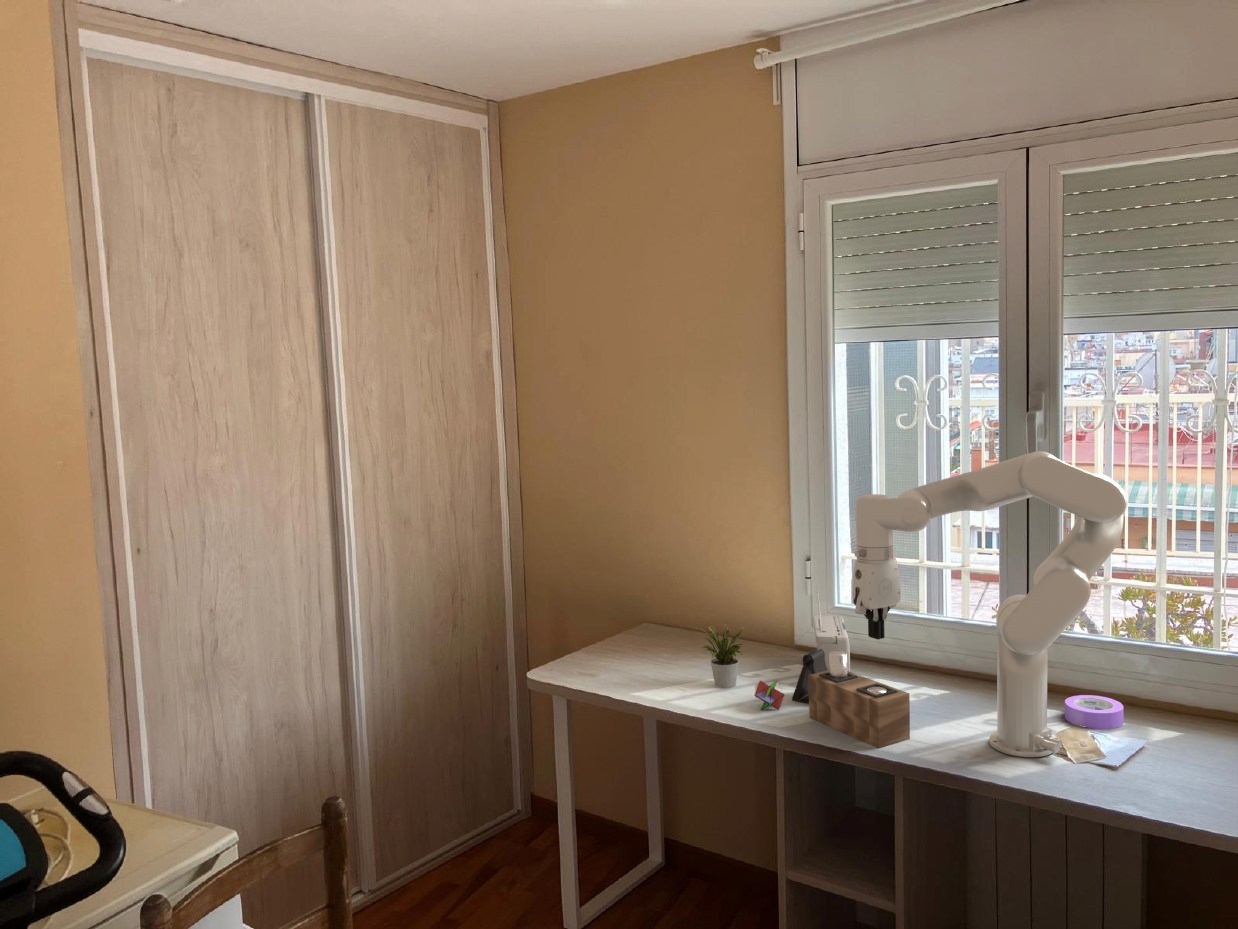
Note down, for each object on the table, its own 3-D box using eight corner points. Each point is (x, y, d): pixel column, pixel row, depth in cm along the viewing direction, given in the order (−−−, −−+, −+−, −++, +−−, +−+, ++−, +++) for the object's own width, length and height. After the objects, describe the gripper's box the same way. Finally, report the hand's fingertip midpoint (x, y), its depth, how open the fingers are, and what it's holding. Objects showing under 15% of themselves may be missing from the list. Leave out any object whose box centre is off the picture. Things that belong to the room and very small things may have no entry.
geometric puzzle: (796, 698, 232) (776, 669, 235) (783, 707, 227) (764, 677, 229) (774, 712, 236) (755, 683, 238) (761, 721, 230) (742, 691, 233)
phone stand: (791, 700, 237) (790, 652, 236) (803, 693, 242) (802, 645, 241) (826, 707, 232) (825, 657, 231) (837, 700, 237) (836, 651, 235)
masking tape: (1054, 720, 219) (1055, 703, 218) (1079, 707, 226) (1079, 690, 226) (1108, 734, 210) (1109, 717, 209) (1132, 720, 217) (1132, 703, 217)
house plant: (687, 693, 245) (685, 629, 243) (696, 675, 259) (694, 614, 257) (745, 696, 242) (743, 630, 240) (751, 678, 255) (749, 616, 253)
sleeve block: (909, 738, 211) (909, 691, 210) (878, 748, 207) (878, 700, 206) (839, 709, 230) (838, 665, 229) (809, 717, 226) (808, 673, 225)
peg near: (890, 731, 212) (890, 690, 211) (877, 735, 210) (876, 694, 210) (877, 725, 216) (877, 685, 215) (863, 729, 214) (863, 689, 213)
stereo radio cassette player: (850, 688, 244) (849, 609, 242) (816, 688, 246) (815, 609, 243) (845, 662, 265) (843, 589, 263) (813, 662, 266) (812, 589, 264)
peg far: (851, 693, 222) (851, 654, 221) (838, 696, 220) (837, 657, 219) (839, 688, 226) (838, 649, 225) (826, 691, 224) (825, 653, 223)
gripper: (861, 560, 202) (862, 648, 204) (913, 551, 210) (914, 635, 211) (835, 555, 209) (837, 640, 211) (887, 546, 216) (889, 628, 218)
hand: (876, 637), depth 211 cm, fingers closed
